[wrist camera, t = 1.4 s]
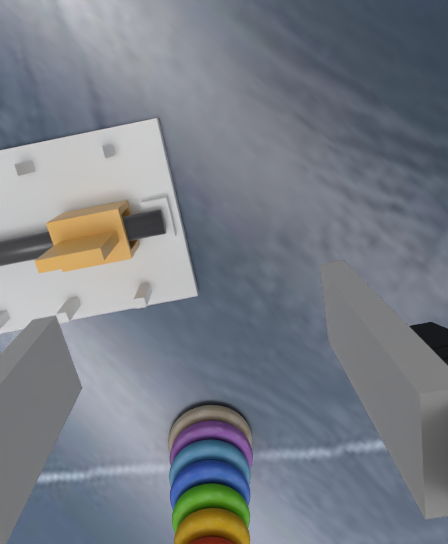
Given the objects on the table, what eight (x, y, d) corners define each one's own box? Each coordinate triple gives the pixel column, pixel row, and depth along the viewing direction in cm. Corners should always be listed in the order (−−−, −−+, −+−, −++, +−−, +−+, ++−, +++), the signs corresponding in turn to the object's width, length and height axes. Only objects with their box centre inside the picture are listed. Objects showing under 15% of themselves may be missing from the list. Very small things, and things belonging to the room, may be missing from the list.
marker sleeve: (127, 199, 32) (101, 223, 24) (139, 245, 33) (118, 280, 25) (63, 212, 32) (17, 239, 24) (77, 257, 33) (38, 296, 26)
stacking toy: (152, 432, 41) (107, 670, 23) (215, 385, 39) (219, 601, 21) (205, 479, 43) (202, 731, 25) (267, 437, 41) (310, 673, 24)
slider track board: (158, 118, 31) (148, 117, 26) (198, 290, 36) (196, 319, 31) (-175, 186, 32) (-250, 199, 27) (-94, 346, 37) (-145, 383, 31)
